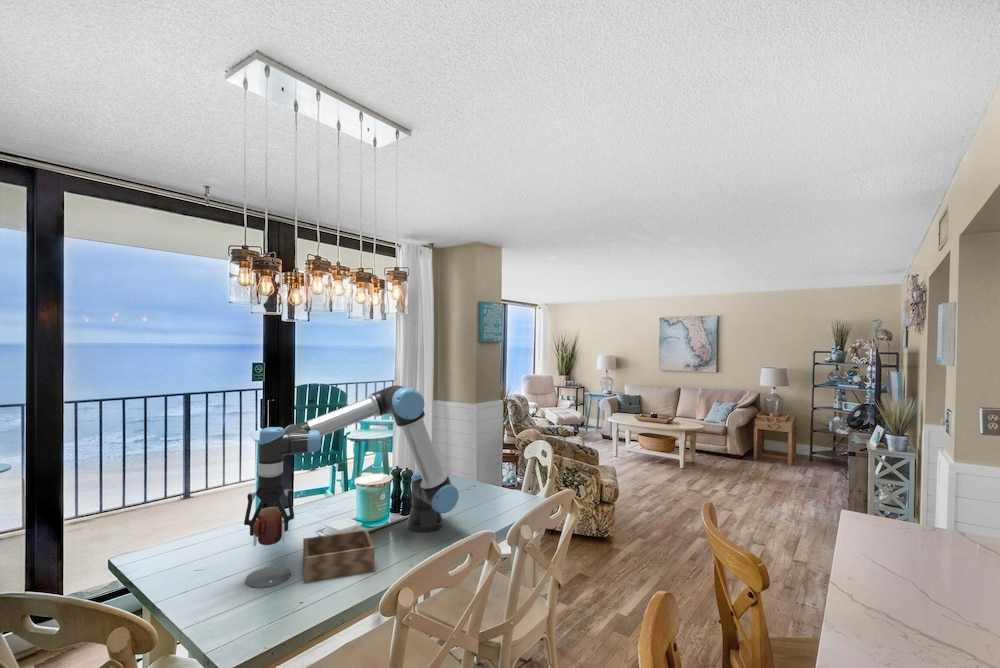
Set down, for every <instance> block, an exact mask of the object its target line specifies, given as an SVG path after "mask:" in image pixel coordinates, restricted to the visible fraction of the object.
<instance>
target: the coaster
mask: <svg viewBox="0 0 1000 668" xmlns="http://www.w3.org/2000/svg"><path fill="white" fill-rule="evenodd" d="M292 573H293V572H292V569H291V568H290V567H287V566H284V565H273V566H267V567H263V568H258V569H256V570H254V571H252V572H250V573H249V574H248V575H247V576H246V577H245V579H244V580H245V582H244V584H245V585H246V586H247V587H250V588H254V589H264V588H269V587H275V586H278V585H281V584H282V583H285V581H286V582H287V580H289V579H290V578H292V577H291V576H292Z"/></svg>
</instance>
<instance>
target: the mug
mask: <svg viewBox="0 0 1000 668" xmlns="http://www.w3.org/2000/svg"><path fill="white" fill-rule="evenodd" d="M281 514H282V512H280V510H279V508H278V506H270V507H264V508H262V509H261V511H260V513H259V515H258V517H257V520H256V521H255V522H254V526H253V530H254V534H255V536H256V537H257V543H258V544H259V545H262V546H271V545H275V544H278V543H280V541H282V520H283V517H282V515H281Z"/></svg>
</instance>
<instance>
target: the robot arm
mask: <svg viewBox="0 0 1000 668" xmlns="http://www.w3.org/2000/svg"><path fill="white" fill-rule="evenodd" d="M424 408H425V399H424V396H423V395H422V393H421V392H420V391H418V390H416V389H415V388H414V387H409V386H403V385H402V386H401V385H391V386H387V387H386V388H385V387H384V388H383V389H381V390H378V391H375V392H373V393H370V394H368V396H367V398H365V399H362V400H359V401H356V402H354V403H351V404H348V405H345V406H342V407H341V408H338V409H335V410H333V411H330V412H327V413H324V414H322V415H320V416H316V417H314V418H311V419H309V420H306V421H303V422H301V423H298V424H289V425H288V426H286V427H285V428H284V427H281V426H276V427H275V426H270V427H265V428H263V429H261V430H260V431H259V437H258V468H257V469H258V470H257V474H258V477H257V490H256V492H248V493H247V495H246V496H247V497H246V498H247V506H246V511H245V516H244V521H243V525H244V526H249V535H250V536H251V537H252V536H253V547H254V548H255V547H256V546H257V543H258V537H256V536H255V534H254V530H253V526H254V522H255V521H256V520H257V517H258V515H259V513H260V511H261V509H263V507H264V505H265V504H269V503H271V504H272V503H273V504H274V503H275V504H276V507H278V508H279V510H280V512H282V514H281V515H282V537H281V543H284V542H285V532H288V531H289V522H290V521H291V520H294V519H295V512H294V511H295V510H294V506H293V499H292V497H293V496H292V495H293V488H286V489H285V488H284V486H283V485H284V482H283V480H284V474H283V473H284V456H289V455H297V454H311V453H316V452H319V451H320V449H321V446H322V437H324V436H326V435H329V434H332V433H334V432H337V431H339V430H341V429H344V428H346V427H349V426H352V425H354V424H357V423H359V422H362V421H364V420H367V419H368V418H372V417H374V416H375V417H377V418H378V417H380V416H384V415H390V414H391V415H392V416H393V418H394V421H395V424H396V427H398V428H401V429H402V431H403V433H404V436H405V439H406V441H407V445H408V446H409V449H410V451H411V453H412V456H413V457H412V458H413V459H414V461H415V464H416V466H417V470H418V471H417V472H415V473H413V474H412V477H411V509H410V512H409V515H408V518H407V524H406V526H407V529H408V530H410V531H411V532H418V533H428V532H434V531H437V530H439V529H441V528H442V527H443V523H444V522H443V517H442V514H447V513H449V512H451V511H452V510H453V509H454V508H455V507H457V503H458V501H459V497H460V495H459V490H458V489H457V487H456V486H455V485H453V484H452V482H451V479H450V477H449V475H448V472H446V471H443V469H442V467H441V463H440V461H439V459H438V455H437V453H436V451H435V449H434V445H433V443H432V440H431V437H430V436H429V435H430V434H429V432H428V430H427V426H426V425H425V422H424V418H425V416H426V413H425V410H424ZM283 494H284V495H285V497H287V506H288V511H289V515H288V513H287V512H286V509H285V507H284V506H283V505H284V504H283V503H282V500H281V497H282V496H283ZM256 497H258V499H259V500H260V501H259V503H258V505H257V507H256V510H255V511H254V514H253V515H252V518H251V520H250V516H251V515H250V514H251V510H252V506H253V501H254V500H255V498H256Z"/></svg>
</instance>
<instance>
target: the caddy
mask: <svg viewBox="0 0 1000 668" xmlns="http://www.w3.org/2000/svg"><path fill="white" fill-rule="evenodd" d="M302 539H303V541H302V542H303V544H302V545H303V547H302V566H303V583H304V584H308V583H312V582H318V581H325V580H329V579H330V580H331V579H335V578H340V577H347V576H352V575H357V574H363V573H369V572H370V573H371V572H375V551H376V549H375V545H374V543H373V541H372V538H371V535H370V533H369V530H368V529H361V530H353V531H349V532H339V533H334V534H327V535H319V536H312V537H305V538H302Z"/></svg>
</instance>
